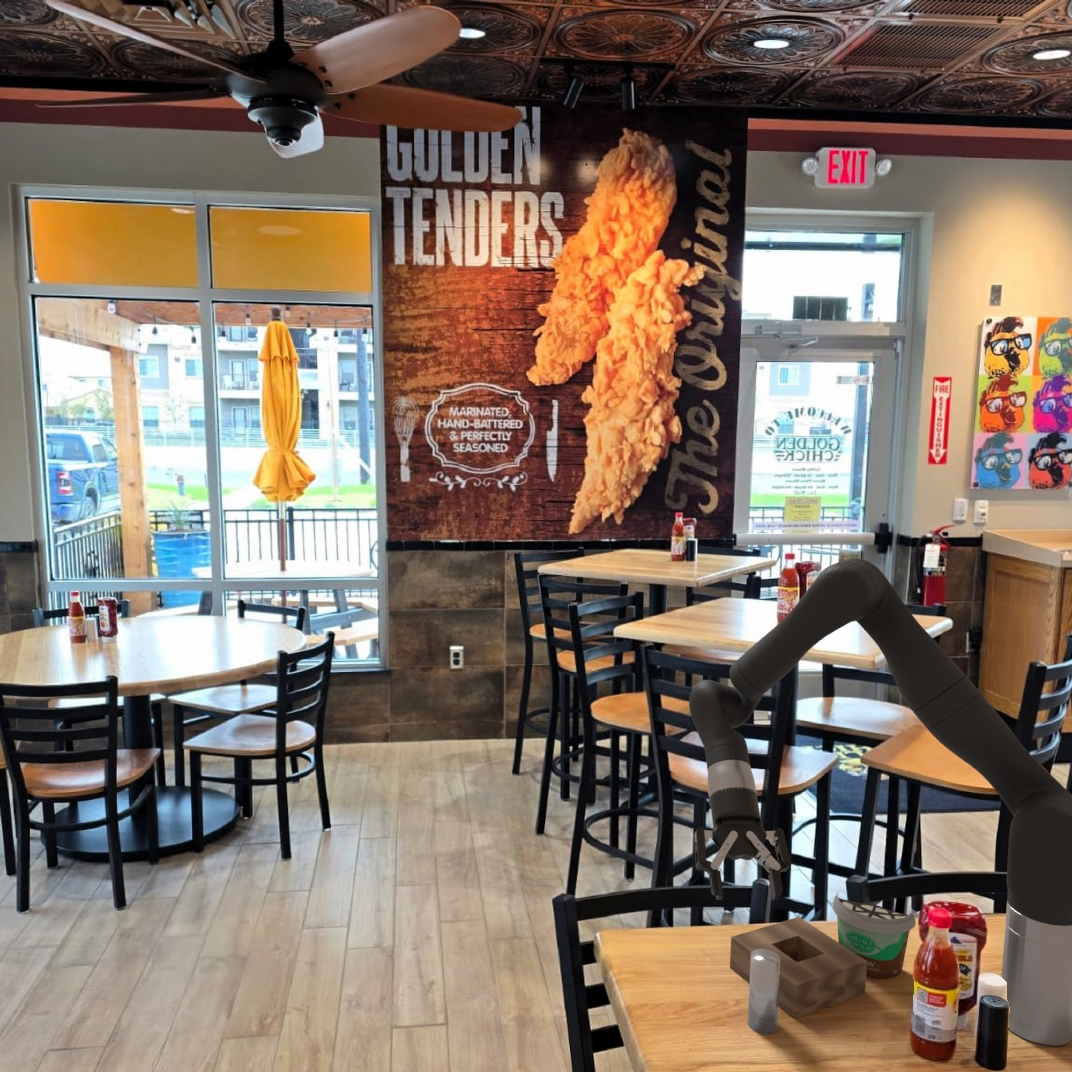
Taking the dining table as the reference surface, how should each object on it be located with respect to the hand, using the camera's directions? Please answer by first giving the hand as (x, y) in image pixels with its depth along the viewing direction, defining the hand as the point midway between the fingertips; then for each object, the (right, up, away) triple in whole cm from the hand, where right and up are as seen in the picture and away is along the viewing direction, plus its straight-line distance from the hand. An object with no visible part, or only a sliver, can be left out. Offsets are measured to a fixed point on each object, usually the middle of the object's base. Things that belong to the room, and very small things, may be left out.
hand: (748, 898), depth 134 cm
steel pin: (0, -14, -9) cm, 17 cm away
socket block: (+8, -13, +2) cm, 16 cm away
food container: (+20, -14, +5) cm, 25 cm away
